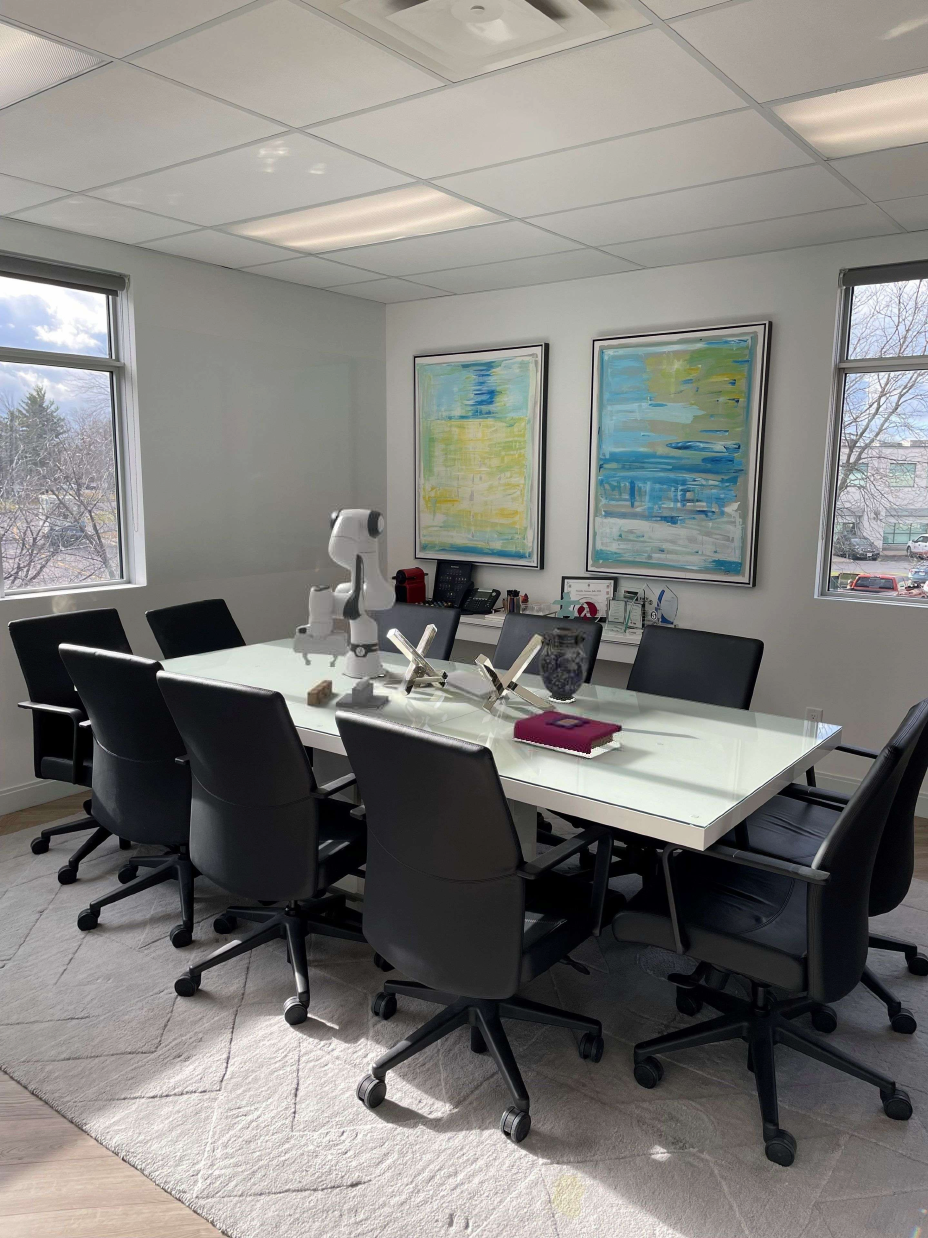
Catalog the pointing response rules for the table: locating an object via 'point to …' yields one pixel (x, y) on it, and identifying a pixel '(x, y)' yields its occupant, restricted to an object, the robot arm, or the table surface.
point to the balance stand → (362, 696)
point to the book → (565, 731)
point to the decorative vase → (563, 662)
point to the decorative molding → (470, 684)
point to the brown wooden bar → (319, 692)
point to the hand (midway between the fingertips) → (320, 665)
